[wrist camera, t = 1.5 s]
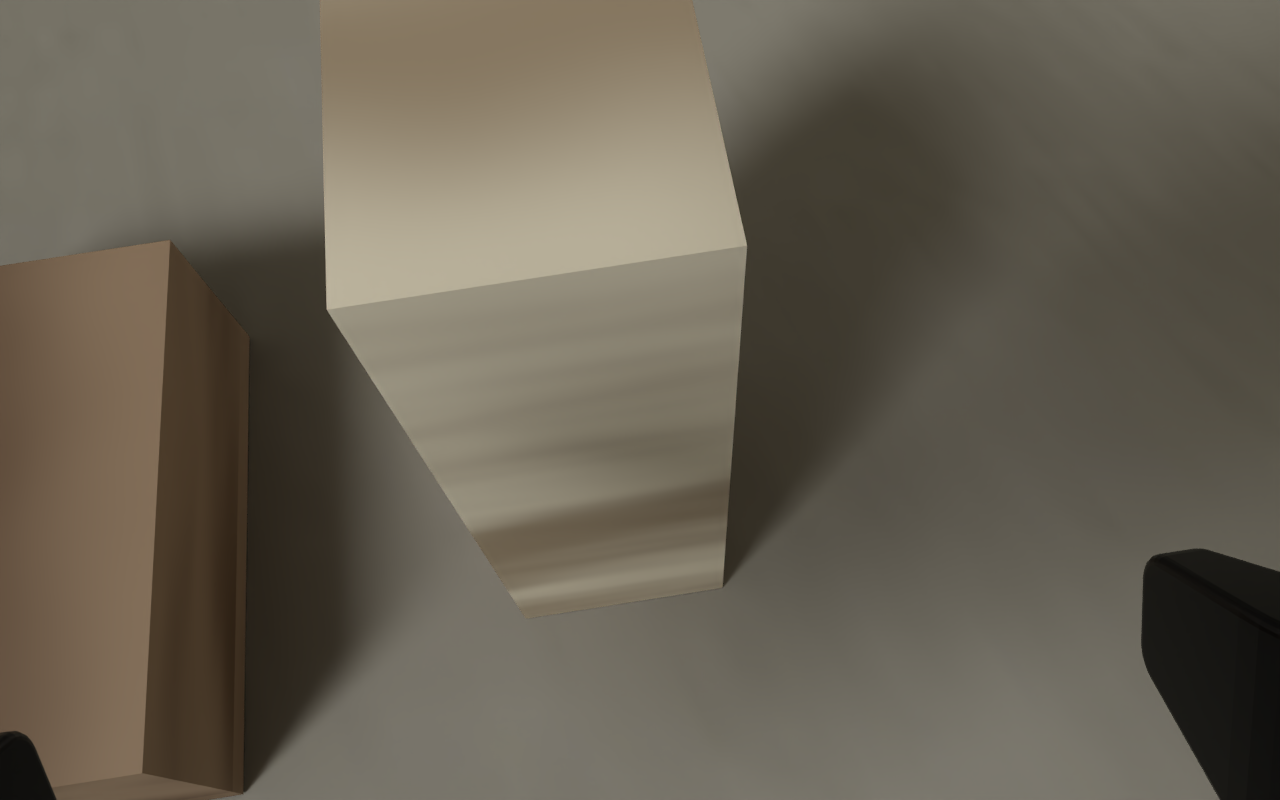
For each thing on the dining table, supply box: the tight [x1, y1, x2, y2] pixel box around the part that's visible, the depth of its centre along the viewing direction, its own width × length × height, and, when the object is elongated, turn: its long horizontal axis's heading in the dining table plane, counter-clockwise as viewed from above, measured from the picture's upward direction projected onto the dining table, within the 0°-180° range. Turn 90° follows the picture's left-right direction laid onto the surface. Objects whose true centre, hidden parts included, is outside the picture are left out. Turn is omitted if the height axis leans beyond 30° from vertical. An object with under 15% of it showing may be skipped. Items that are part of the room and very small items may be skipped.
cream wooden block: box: [320, 0, 747, 619], centre depth 17 cm, size 5×4×12 cm
